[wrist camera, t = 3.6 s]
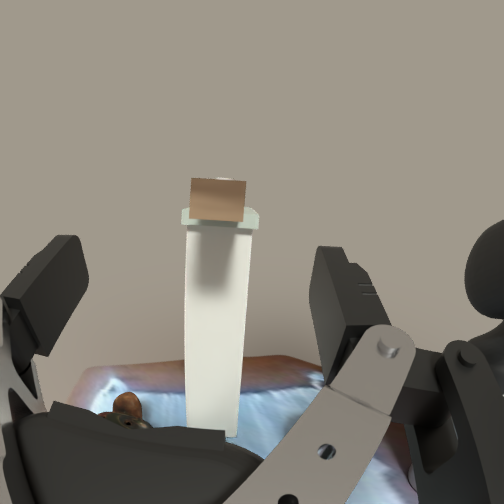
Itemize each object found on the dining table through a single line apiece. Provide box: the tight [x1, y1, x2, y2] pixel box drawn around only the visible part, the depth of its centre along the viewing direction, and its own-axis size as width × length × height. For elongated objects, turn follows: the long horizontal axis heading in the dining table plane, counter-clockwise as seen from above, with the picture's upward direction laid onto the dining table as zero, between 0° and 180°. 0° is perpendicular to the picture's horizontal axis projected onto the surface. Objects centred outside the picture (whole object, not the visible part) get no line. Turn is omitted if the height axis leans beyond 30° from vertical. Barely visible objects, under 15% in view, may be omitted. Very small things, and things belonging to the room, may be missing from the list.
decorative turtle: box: [98, 392, 153, 429], centre depth 30 cm, size 10×15×8 cm, turn 8°
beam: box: [189, 178, 246, 222], centre depth 35 cm, size 25×4×4 cm, turn 4°
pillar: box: [181, 207, 259, 437], centre depth 43 cm, size 16×8×31 cm, turn 4°
